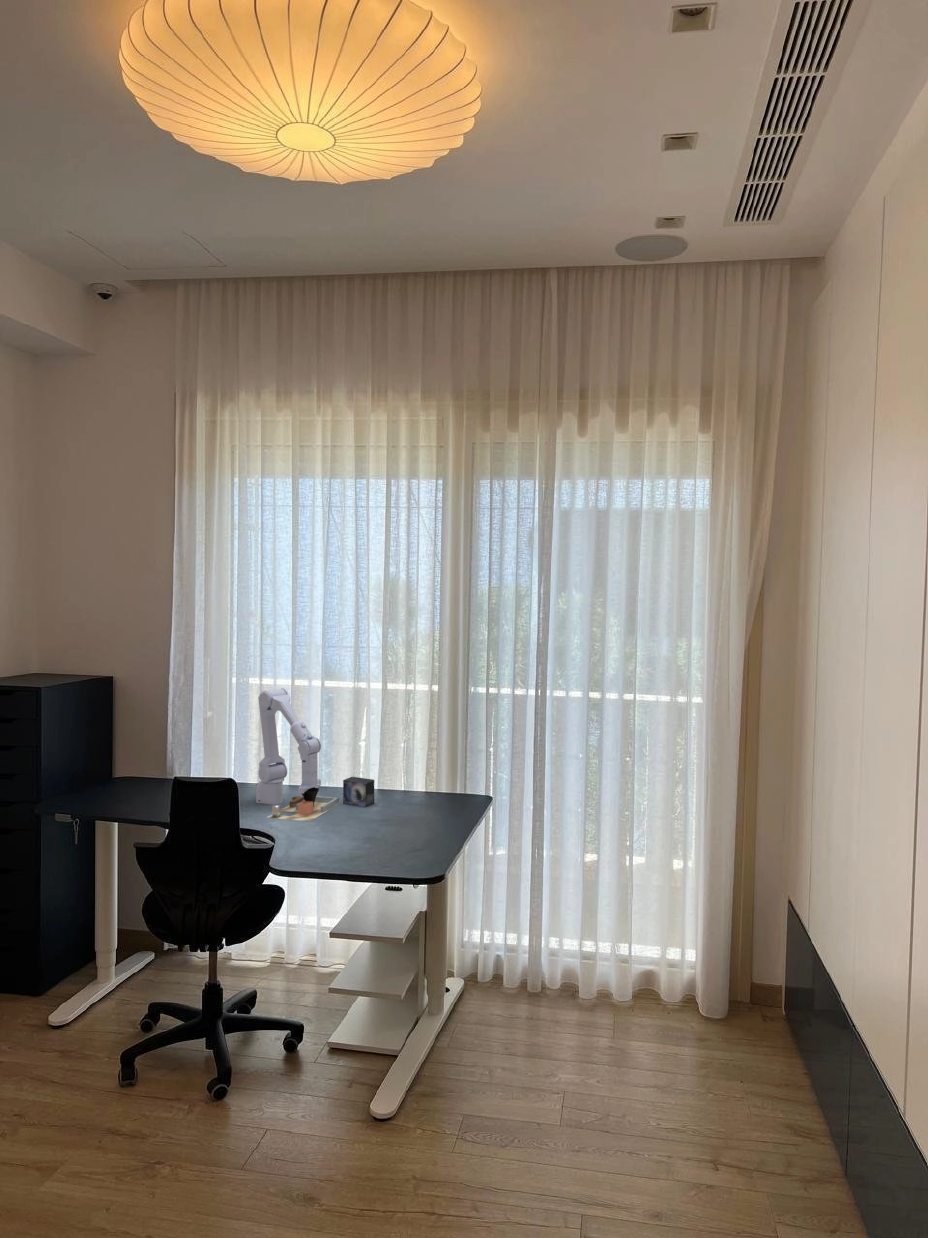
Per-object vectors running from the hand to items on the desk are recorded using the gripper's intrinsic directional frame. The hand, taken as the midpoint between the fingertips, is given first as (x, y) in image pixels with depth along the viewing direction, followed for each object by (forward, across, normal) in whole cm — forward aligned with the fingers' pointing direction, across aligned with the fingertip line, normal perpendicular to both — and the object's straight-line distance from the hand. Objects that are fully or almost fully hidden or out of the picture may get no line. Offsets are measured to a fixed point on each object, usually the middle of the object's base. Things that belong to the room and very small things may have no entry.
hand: (309, 808), depth 329 cm
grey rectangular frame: (+1, +7, 0) cm, 7 cm away
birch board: (+2, +1, +2) cm, 3 cm away
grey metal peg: (+1, -10, +8) cm, 13 cm away
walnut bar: (+1, +7, +8) cm, 11 cm away
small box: (+2, +15, -13) cm, 20 cm away
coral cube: (+1, -3, 0) cm, 4 cm away
